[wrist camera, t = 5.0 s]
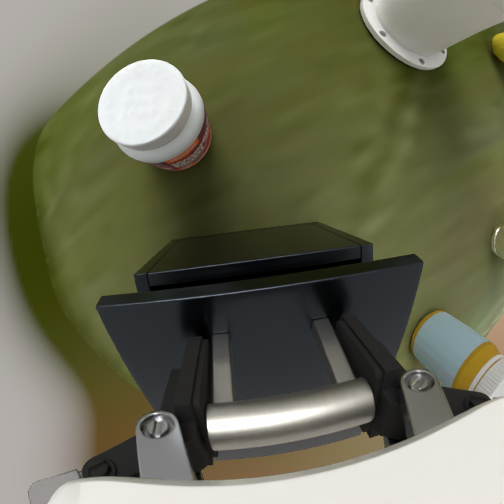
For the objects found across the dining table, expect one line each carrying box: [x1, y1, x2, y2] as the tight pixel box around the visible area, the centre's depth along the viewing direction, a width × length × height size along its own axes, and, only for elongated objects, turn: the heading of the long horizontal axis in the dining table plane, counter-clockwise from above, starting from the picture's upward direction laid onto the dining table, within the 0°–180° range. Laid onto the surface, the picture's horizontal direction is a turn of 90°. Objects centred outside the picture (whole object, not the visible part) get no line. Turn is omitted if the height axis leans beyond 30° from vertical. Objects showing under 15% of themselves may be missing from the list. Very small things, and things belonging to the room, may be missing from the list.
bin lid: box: [96, 254, 423, 460], centre depth 12 cm, size 16×14×6 cm
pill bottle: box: [98, 60, 211, 171], centre depth 17 cm, size 6×6×11 cm
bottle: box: [411, 310, 504, 400], centre depth 23 cm, size 7×7×15 cm
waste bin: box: [134, 222, 373, 293], centre depth 22 cm, size 16×14×11 cm
